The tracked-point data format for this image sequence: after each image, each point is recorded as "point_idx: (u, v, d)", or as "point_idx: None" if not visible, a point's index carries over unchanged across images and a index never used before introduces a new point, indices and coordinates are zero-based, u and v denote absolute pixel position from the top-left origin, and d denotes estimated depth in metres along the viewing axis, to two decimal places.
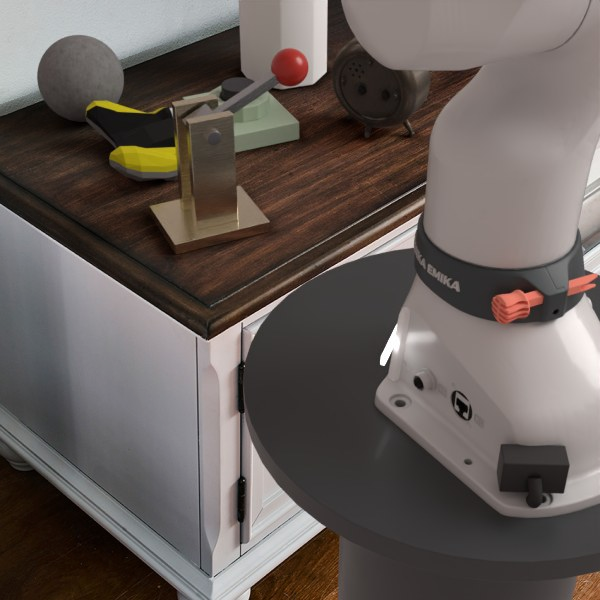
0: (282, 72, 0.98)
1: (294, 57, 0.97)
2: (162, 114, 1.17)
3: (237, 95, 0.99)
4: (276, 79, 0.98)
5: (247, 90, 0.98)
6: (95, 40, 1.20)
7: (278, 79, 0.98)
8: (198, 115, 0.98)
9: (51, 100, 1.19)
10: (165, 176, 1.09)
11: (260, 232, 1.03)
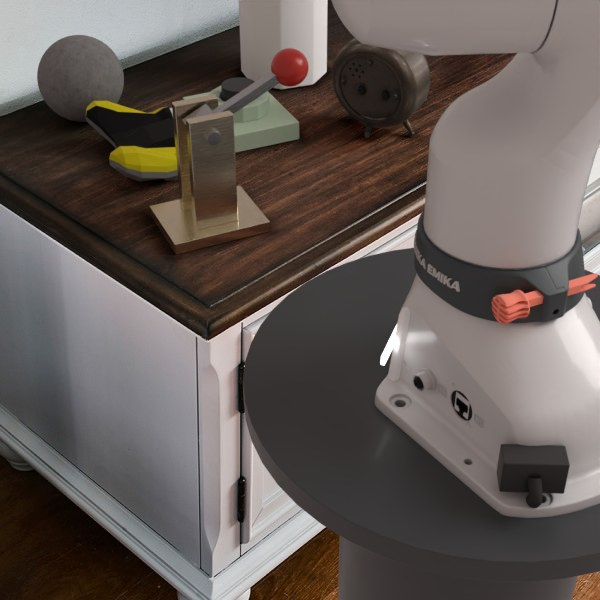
0: (282, 72, 0.98)
1: (294, 57, 0.97)
2: (162, 114, 1.17)
3: (237, 95, 0.99)
4: (276, 79, 0.98)
5: (247, 90, 0.98)
6: (95, 40, 1.20)
7: (278, 79, 0.98)
8: (198, 115, 0.98)
9: (51, 100, 1.19)
10: (165, 176, 1.09)
11: (260, 232, 1.03)
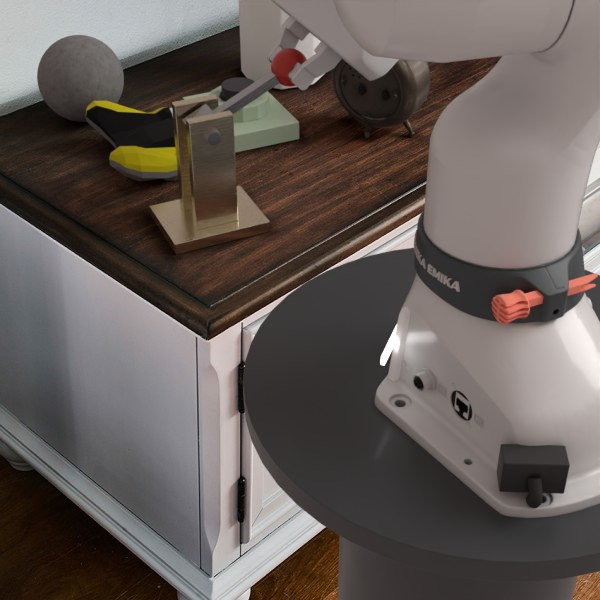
0: (282, 72, 0.98)
1: (294, 57, 0.97)
2: (162, 114, 1.17)
3: (237, 95, 0.99)
4: (276, 79, 0.98)
5: (247, 90, 0.98)
6: (95, 40, 1.20)
7: (278, 79, 0.98)
8: (198, 115, 0.98)
9: (51, 100, 1.19)
10: (165, 176, 1.09)
11: (260, 232, 1.03)
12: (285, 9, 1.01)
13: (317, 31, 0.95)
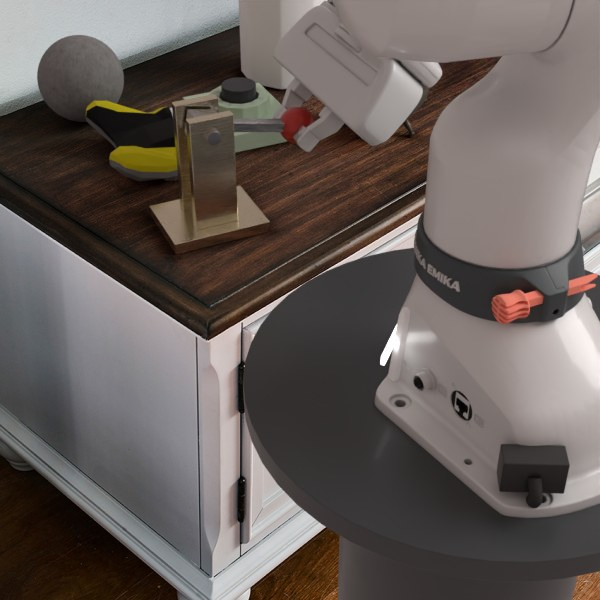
0: (293, 123, 1.01)
1: (309, 118, 1.02)
2: (162, 113, 1.17)
3: (244, 119, 1.00)
4: (283, 127, 1.02)
5: (255, 120, 1.01)
6: (95, 40, 1.20)
7: (285, 128, 1.02)
8: (206, 113, 0.98)
9: (51, 100, 1.19)
10: (165, 176, 1.09)
11: (260, 232, 1.03)
12: (290, 71, 1.05)
13: (321, 96, 0.99)
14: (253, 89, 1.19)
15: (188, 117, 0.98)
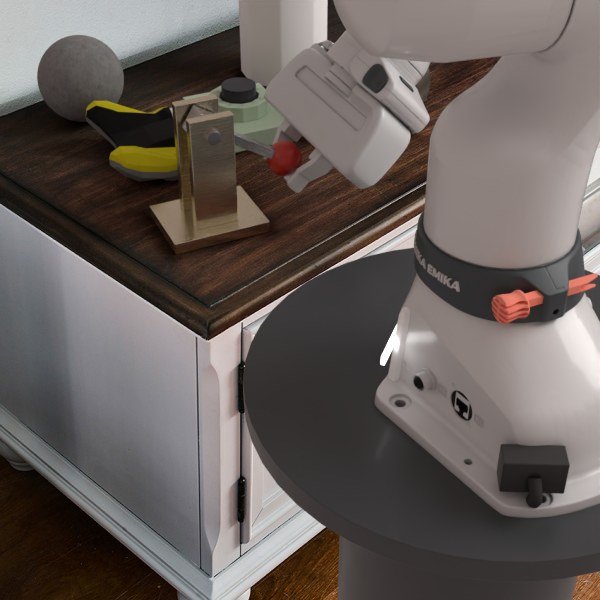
0: (284, 154, 1.03)
1: (299, 154, 1.04)
2: (162, 113, 1.17)
3: (240, 134, 1.01)
4: (273, 154, 1.03)
5: (250, 139, 1.02)
6: (95, 40, 1.20)
7: (274, 156, 1.03)
8: None
9: (51, 100, 1.19)
10: (165, 176, 1.09)
11: (260, 232, 1.03)
12: (281, 113, 1.07)
13: (311, 139, 1.02)
14: (253, 89, 1.19)
15: (192, 112, 0.98)
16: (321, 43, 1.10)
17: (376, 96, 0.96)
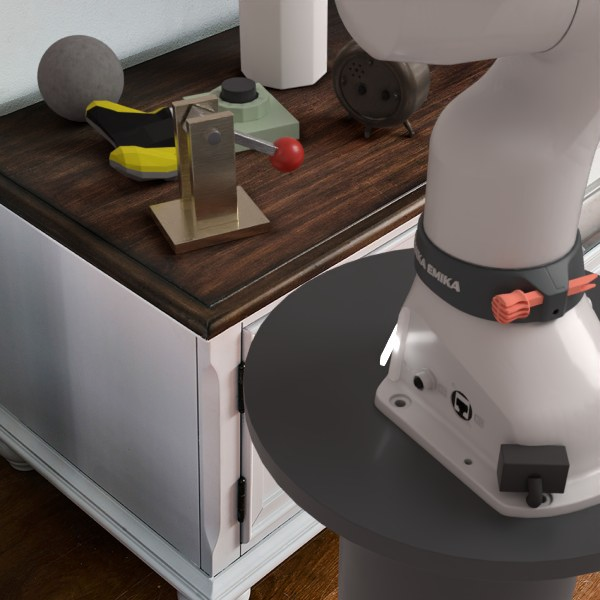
0: (286, 150, 1.03)
1: (301, 150, 1.03)
2: (162, 113, 1.17)
3: (241, 132, 1.01)
4: (275, 151, 1.03)
5: (251, 137, 1.01)
6: (95, 40, 1.20)
7: (276, 152, 1.03)
8: (209, 114, 0.98)
9: (51, 100, 1.19)
10: (165, 176, 1.09)
11: (260, 232, 1.03)
12: None
13: None
14: (253, 89, 1.19)
15: (191, 113, 0.98)
16: None
17: None
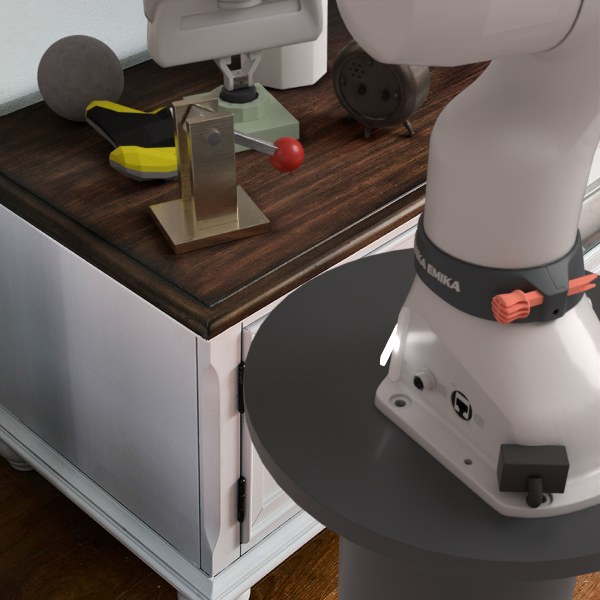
0: (286, 150, 1.03)
1: (301, 150, 1.03)
2: (162, 114, 1.17)
3: (241, 132, 1.01)
4: (275, 151, 1.03)
5: (251, 137, 1.01)
6: (95, 40, 1.20)
7: (276, 152, 1.03)
8: (209, 114, 0.98)
9: (51, 100, 1.19)
10: (165, 176, 1.09)
11: (260, 232, 1.03)
12: (203, 60, 1.14)
13: (262, 47, 1.16)
14: (253, 93, 1.19)
15: (191, 113, 0.98)
16: None
17: None
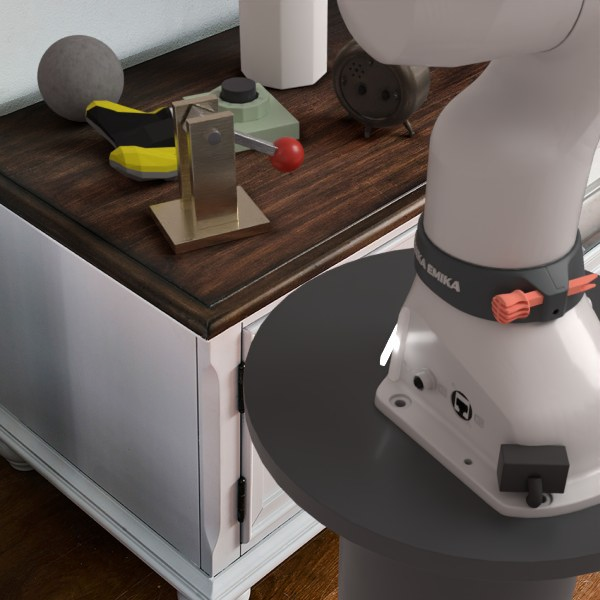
0: (286, 150, 1.03)
1: (301, 150, 1.03)
2: (162, 113, 1.17)
3: (241, 132, 1.01)
4: (275, 151, 1.03)
5: (251, 137, 1.01)
6: (95, 40, 1.20)
7: (276, 152, 1.03)
8: (209, 114, 0.98)
9: (51, 100, 1.19)
10: (165, 176, 1.09)
11: (260, 232, 1.03)
12: None
13: None
14: (253, 89, 1.19)
15: (191, 113, 0.98)
16: None
17: None
